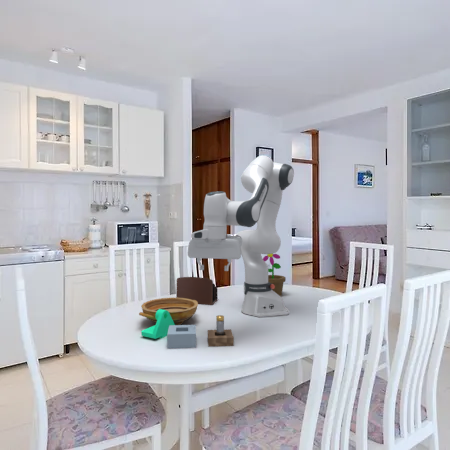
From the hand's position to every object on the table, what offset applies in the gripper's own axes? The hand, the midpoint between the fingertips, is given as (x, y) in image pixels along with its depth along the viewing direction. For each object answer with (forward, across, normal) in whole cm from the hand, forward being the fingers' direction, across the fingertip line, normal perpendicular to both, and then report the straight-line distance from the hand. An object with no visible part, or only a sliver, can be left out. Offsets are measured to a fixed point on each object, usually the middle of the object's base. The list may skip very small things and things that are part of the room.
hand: (214, 270), depth 140 cm
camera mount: (+27, +22, -2) cm, 34 cm away
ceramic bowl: (+26, +20, -18) cm, 37 cm away
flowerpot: (+24, -27, -72) cm, 80 cm away
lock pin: (+26, -3, +4) cm, 26 cm away
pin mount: (+26, -3, +4) cm, 26 cm away
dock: (+26, +10, +6) cm, 29 cm away
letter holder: (+25, +14, -53) cm, 61 cm away
